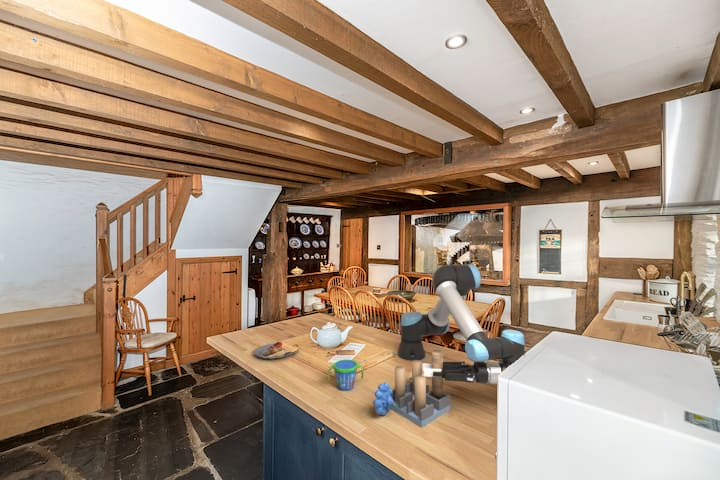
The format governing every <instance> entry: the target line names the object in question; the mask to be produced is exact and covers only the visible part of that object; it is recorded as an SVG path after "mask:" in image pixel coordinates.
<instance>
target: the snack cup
mask: <svg viewBox="0 0 720 480" xmlns="http://www.w3.org/2000/svg"><path fill="white" fill-rule="evenodd" d="M358 368H359V369H361V380H363V378H364V369H363V366H362V365H361V364H359V363H358V362H357V361H356V360H352V359H341V360H337V361H335V362H334V363H333V365H331V366H330V367H329V369H328V371H327V378H328V381H329V382H330V381H331V378H330V371H332V370H334V375H335V380H336V386H337V388H338V389H339V390H341V391H351V390H352V389H354V388H355V384H356V378H357V377H356V376H357V371H358Z"/></svg>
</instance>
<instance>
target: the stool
mask: <svg viewBox="0 0 720 480" xmlns="http://www.w3.org/2000/svg"><path fill="white" fill-rule="evenodd" d="M422 363H423V361H422V360H411V372H412V382H410V381H409V382H407V383H406V367H404V366H400V365H398V366H395V367H394V388H393V389H392V392H393V393H392V394H391V397H392V399H393V402H394V403H393V404H392V405H390V407H391V408H390V409H391V411H394V412H396V413H397V414H399V415H401V416H402V417H404V418H405V419H407V420H409V421H410V422H412V423H413V424H415V425H417V426H418V427H420V428H423V427H425V426H426V425H428V424H430V423H431V422H433V421H436V420H437V419H438V418H440V417H442V416H443V415H445V414H446V413H448V412H449V411H451V407H452V405H451V395H450V394H448V393H446V392H444V391H443V396H440V397H437V396H434V395H433V394H432V390H430V385H429V384H427V377H426V376H424V375H423V376H422V373H423V371H422Z"/></svg>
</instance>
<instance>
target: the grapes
mask: <svg viewBox="0 0 720 480" xmlns="http://www.w3.org/2000/svg"><path fill="white" fill-rule="evenodd" d="M377 388H378V389H377V390H375V392H374V393H373V394H374V397H375V399H374V400H373V406H374V407H375V409H374V411H375V412H376V414H377V415H380V416H382V417H383V416H386V414H387V413H388V412H389V411H390V409H391V407H390V405H392V404H393V403H394V402H393V399H392V397H391V394H392V393H393V392H392V390H393V389H392V388H391V387H390V384H389V383H388V382H384V383H380V384H379V385H378V386H377Z"/></svg>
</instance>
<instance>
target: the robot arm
mask: <svg viewBox="0 0 720 480" xmlns="http://www.w3.org/2000/svg"><path fill="white" fill-rule="evenodd" d="M431 282H432V283H431V285H432V288H433V291H434V292H435V295H437V297H440V298H439V299H438V301H437V303H436V304H435V306H434V307H432V308H431V309H429V310H428V312H427V313H426V314H423V313H422V312H420V311H408V312H405V313H403V314H402V315H401V317H400V318H401V319H400V343H399V346H398V349H397V355H398V357H399V358H401V359H403V360H406V361H407V360H408V361H413V360H420V361H422V360H423V359H424V358H426V350H425V348H424V344H423V337H426V336H435V335H438V336H440V335H444V334H446V333H447V332H448V331H449V329H450V325H451V324H450V323H451V322H450V318H449V316H450V315H451V317H452V319H453V320H454V322H455V324H456V326H457V327H458V329H459V331H460V332H461V334H462V336H463V337H464V339H465V345H464V352H465V353H466V356H467V358H468V359H469V360H470V361H471V362H474V363H473V365H471V364H466V362H465V361H443V368H442V372H441V369H432V363H424V362H422V372H423V374H424V375H423V376H424V377H426V378H432V377H442V378H443V379H444V381H445V382H447V381H448V382H461V383H462V382H463V383H469V384H473V383H474V381H475V382H476V383H477V384H493V385H496V384H498V375H499V374H500V373H501V372H502V371H503V370H505V369H506V368H507V367H508V366H509V365H511V364H512V363H514V362H515V361H516V360H518V359H519V358H520V357H521V356H522V355H524V356H525V349H526V348H525V345H526V343H525V335H524V333H523V332H522V331H519V330H514V329H504V330H502V332H501V335H500V336H501V337H500V336H499V337H488V335H487V334H486V332H485V331H484V329H483V328H482V327H481V324H480V323H479V321H478V320H477V318H476V317H475V316H474V315H475V314H473V313H472V311H471V310H470V307H469V306H468V305H467V303H466V301H465V300H464V298H462V297H465V296H467V295H468V294H469V293H470V291H471V290H476V289H478V288H479V287H480V286H481V283H482V277H481V272H480V271H479V268H478V267H477V266H476V265H474V264H470V263H469V264H468V263H464V264H463V263H462V264H461V263H460V264H444V265H443V264H442V265H441V266H439V267H438V268H437V269H436V270H435V271H434V273H433V275H432V279H431ZM494 360H501V361H500V362H499V361H494ZM498 385H499V384H498Z"/></svg>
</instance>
